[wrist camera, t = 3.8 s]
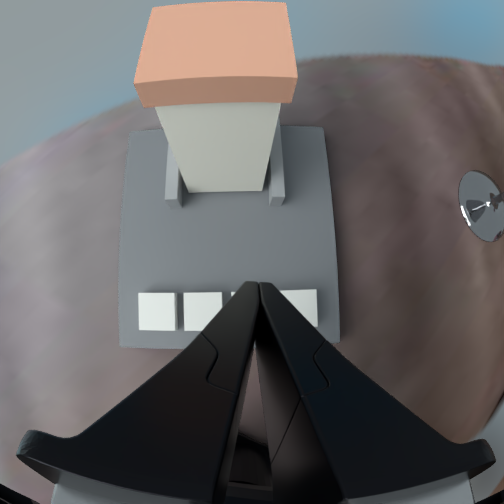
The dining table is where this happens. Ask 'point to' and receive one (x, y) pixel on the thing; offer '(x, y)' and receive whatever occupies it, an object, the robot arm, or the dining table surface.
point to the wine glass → (482, 205)
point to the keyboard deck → (223, 240)
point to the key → (218, 87)
